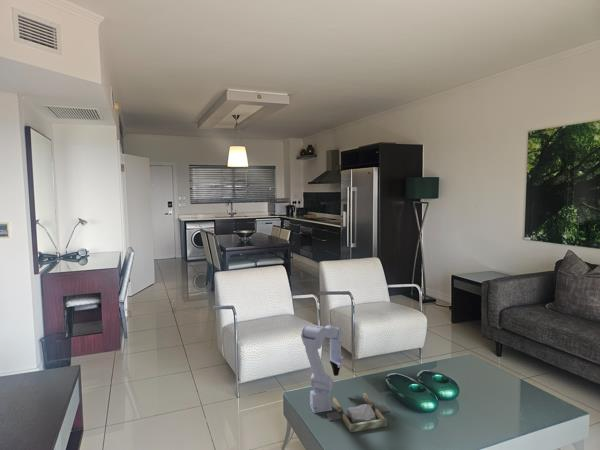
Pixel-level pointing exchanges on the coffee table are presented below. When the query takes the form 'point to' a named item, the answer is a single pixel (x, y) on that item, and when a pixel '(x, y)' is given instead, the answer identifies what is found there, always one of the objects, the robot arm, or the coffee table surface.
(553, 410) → the coffee table surface
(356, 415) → the stone block
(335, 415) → the trap pits
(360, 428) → the tan u-shaped piece
